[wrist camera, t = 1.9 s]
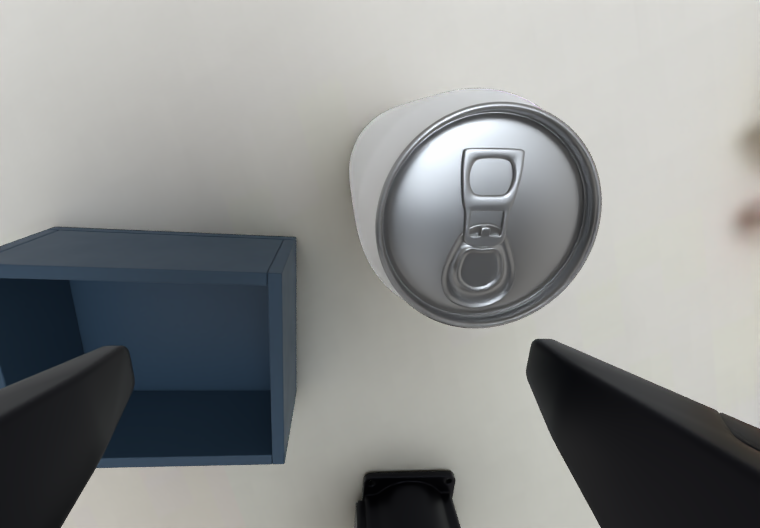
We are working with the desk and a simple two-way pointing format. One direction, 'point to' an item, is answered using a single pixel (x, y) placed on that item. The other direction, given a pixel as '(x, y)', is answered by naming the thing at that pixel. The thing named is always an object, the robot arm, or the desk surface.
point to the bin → (164, 335)
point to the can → (474, 205)
